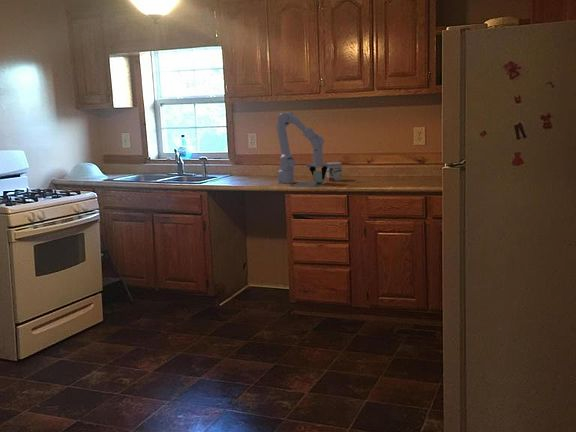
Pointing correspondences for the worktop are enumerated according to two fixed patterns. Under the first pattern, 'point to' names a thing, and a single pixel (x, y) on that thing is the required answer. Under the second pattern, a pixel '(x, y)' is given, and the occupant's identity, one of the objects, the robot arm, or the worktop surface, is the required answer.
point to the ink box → (334, 171)
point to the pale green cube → (317, 176)
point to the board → (307, 184)
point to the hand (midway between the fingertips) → (318, 179)
